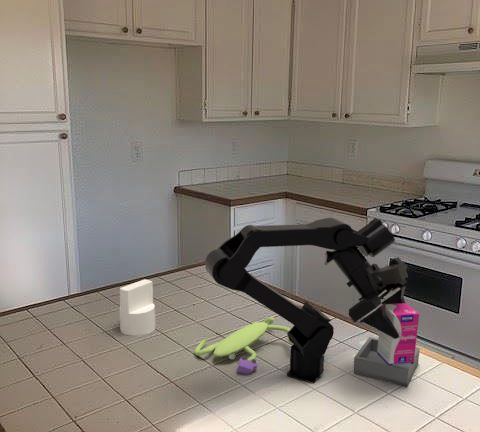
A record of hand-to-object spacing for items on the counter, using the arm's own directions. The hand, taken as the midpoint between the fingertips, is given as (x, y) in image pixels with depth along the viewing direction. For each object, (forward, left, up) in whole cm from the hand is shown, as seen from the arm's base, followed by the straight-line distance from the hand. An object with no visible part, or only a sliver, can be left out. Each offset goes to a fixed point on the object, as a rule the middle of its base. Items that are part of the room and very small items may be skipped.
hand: (404, 330), depth 112 cm
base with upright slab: (-66, -5, -13) cm, 68 cm away
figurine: (-34, -1, -13) cm, 37 cm away
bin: (-4, +6, -13) cm, 15 cm away
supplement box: (-1, 0, -7) cm, 7 cm away
